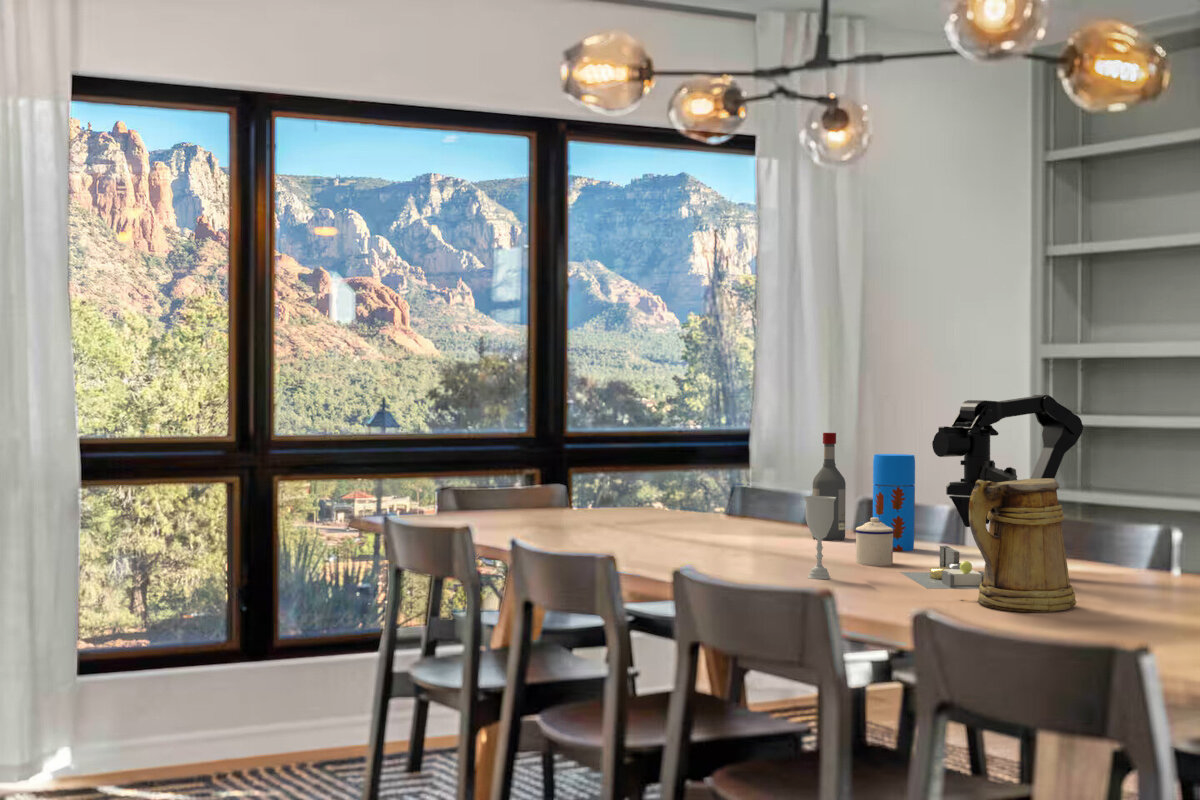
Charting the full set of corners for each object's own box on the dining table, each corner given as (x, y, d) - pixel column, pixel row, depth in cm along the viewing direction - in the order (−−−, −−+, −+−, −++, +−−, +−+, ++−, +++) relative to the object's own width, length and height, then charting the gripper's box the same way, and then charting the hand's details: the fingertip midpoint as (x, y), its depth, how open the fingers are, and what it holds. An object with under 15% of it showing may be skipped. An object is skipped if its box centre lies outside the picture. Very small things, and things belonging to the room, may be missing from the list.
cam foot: (971, 580, 305) (971, 557, 305) (981, 585, 297) (981, 561, 297) (943, 580, 305) (944, 557, 305) (953, 585, 297) (953, 561, 297)
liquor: (812, 540, 394) (812, 433, 394) (812, 536, 403) (813, 432, 403) (845, 540, 393) (846, 433, 393) (844, 537, 402) (845, 432, 402)
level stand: (996, 576, 319) (997, 560, 319) (1032, 592, 293) (1032, 575, 293) (900, 575, 319) (900, 559, 319) (927, 592, 293) (927, 574, 293)
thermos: (918, 551, 368) (918, 456, 368) (876, 551, 368) (877, 455, 368) (909, 546, 379) (910, 454, 378) (869, 546, 379) (870, 453, 379)
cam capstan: (953, 569, 324) (953, 545, 324) (975, 580, 306) (975, 555, 306) (914, 569, 324) (915, 545, 324) (934, 579, 306) (934, 555, 306)
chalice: (839, 576, 317) (839, 496, 317) (831, 580, 310) (831, 498, 310) (807, 574, 320) (808, 495, 320) (798, 578, 314) (799, 497, 313)
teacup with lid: (901, 568, 333) (901, 519, 333) (866, 569, 330) (867, 519, 330) (875, 562, 344) (875, 514, 344) (842, 563, 341) (842, 515, 341)
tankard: (1096, 609, 272) (1097, 480, 272) (1006, 618, 261) (1007, 483, 260) (1026, 596, 288) (1027, 474, 288) (938, 604, 276) (939, 477, 276)
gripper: (992, 458, 304) (992, 531, 304) (1029, 455, 318) (1029, 524, 318) (945, 457, 311) (945, 527, 311) (982, 453, 325) (982, 521, 325)
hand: (977, 525), depth 316 cm, fingers open, 9 cm apart
